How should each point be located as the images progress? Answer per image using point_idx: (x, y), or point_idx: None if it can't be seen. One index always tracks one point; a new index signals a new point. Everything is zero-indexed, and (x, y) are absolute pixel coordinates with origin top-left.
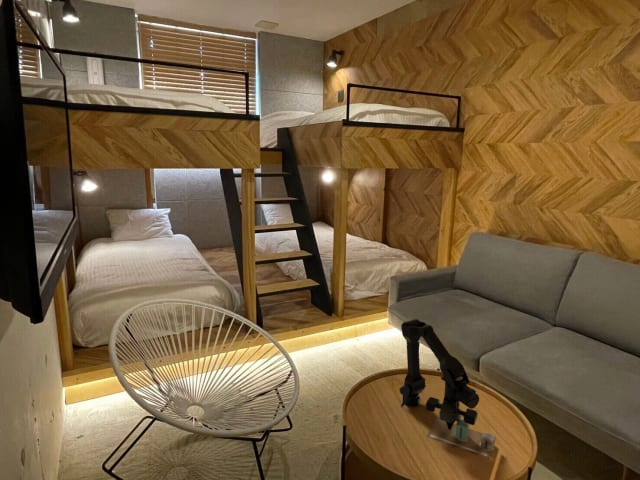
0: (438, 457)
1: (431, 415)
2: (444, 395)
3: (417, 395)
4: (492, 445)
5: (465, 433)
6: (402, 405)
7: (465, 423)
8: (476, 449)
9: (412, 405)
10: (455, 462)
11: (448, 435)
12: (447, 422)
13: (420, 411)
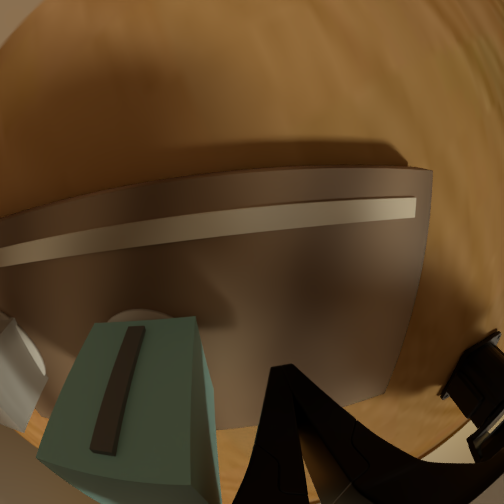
0: (250, 7)
1: (400, 387)
2: None
3: (488, 415)
4: None
5: (70, 387)
6: (496, 338)
7: (110, 497)
8: (12, 284)
9: (480, 364)
10: (96, 46)
11: (270, 311)
12: (342, 432)
13: (443, 369)
